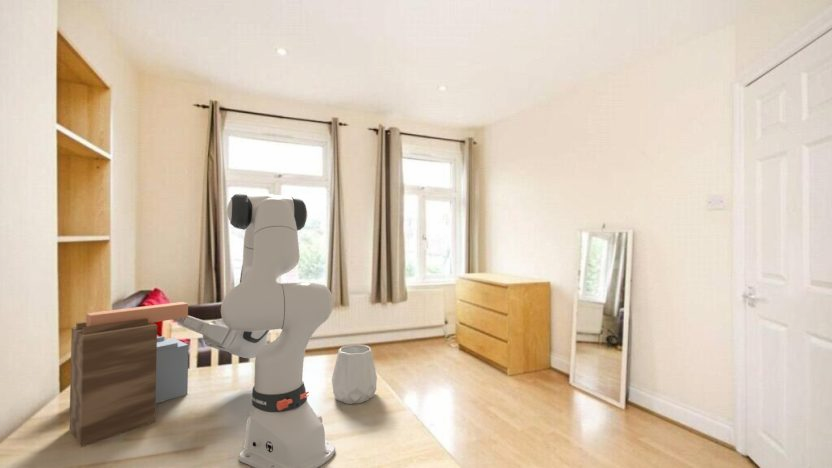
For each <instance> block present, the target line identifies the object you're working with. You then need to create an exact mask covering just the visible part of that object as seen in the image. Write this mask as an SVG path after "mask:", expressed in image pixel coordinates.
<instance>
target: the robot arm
mask: <svg viewBox="0 0 832 468" xmlns="http://www.w3.org/2000/svg"><path fill="white" fill-rule="evenodd" d="M226 215H227V218H228V220H229V222H230V225H231V226H233V228H236V229H239V230H245V231H244V238H243V249H242V264H241V270H240V271H241V272H240V278H239V284H237V285H236V286H233V288H231V289H230V290H229V291H228V292H227V293H226V295H224V298H223V299H222V301H221V305H220V306H221V307H220V315H221V318H218V319H216V320H215V319H214V320H212V321H210V322H208V321H206V320H203V319H200V318H198V317H197V318H196V317H194V316H193V315H192V316H191V315H189V314H188V317H186V318H179V319H172V320H173V321H175V322H177V326H179V327H182V328H184V329H187V330H190V331H193V332H195V333H197V334H199V335H202V340H203V341H204V344H205V346H206V347H211V348H212V349H216V350H218V351H222V352H223V351H224V352H228V353H230V354H231V355H234V356H237V357H241V358H245V359H254V381H253V382H254V385H253V387H252V391H251V405H252V408H251V411H250V414H249V416H248V417H247V420H246V427H245V435H244V443H243V449H242V450H241V452H240V453H239V454H238V461H239V462H241V463H243V464H246V465H249V466H250V467H253V468H319V467H321V466H322V465H324V464H325V463H327V462H328V461H329V460H330V459H332V457H333V456H334V455H335V452H336V446H335V445H334V444H332V442H330V440H328V439H327V438H326V436H325V435H326V433H325V427H324V424H323V416H321V414H320V415H319V414H318V415H317V414H316V412H315V411H314V410H313V408H312V407H311V405H310V404H309V402H308V401H307V400H308V397H309V396H310V395H308V394H310V392H309V391H306V385H305V383H304V381H303V372H304V361H305V360H304V359H305V353H306V350H307V347H308V344H309V342H310V340H311V339H312V336H313V335H314V334H315V332H316V331H317V330H318V329H319V327H321V326H322V325H323V324H324V323H325V322H326V321H327V320H329V318H330V316H331V315H332V313H333V309H334V304H335V303H334V297H333V294H332V292H331V291H330V289H329V288H328V286H326V285H324V284H321V283H313V282H289V283H288V282H287V283H285V282H284V283H279V282H278V281H277V279H278V278H279V277H281V276H284V275H285V274H288V273H289V272H291V271H292V270H293V269H295V268H296V266H297V265H298V263H299V261H300V249H299V246H300V245H299V235H298V231H301V230H302V229H303V228H304V227H305V226H306V222H307V219H308V210H307V206H306V203H305V202H304V200H302V199H301V198H298V197H294V196H292V197H288V196H282V195H278V194H277V195H276V194H275V195H274V194H269V193H247V192H242V193H235V194H234V195H232V197H230V200H229V202H228V205H227V207H226ZM172 320H171V321H172ZM273 330H274V331H275V330H281V332H280V334H279V336H278V337H276V339H275V340H273V341H271V342H269V343H268V341H267V340H268V335H269V333H270V331H273ZM333 454H334V455H333Z"/></svg>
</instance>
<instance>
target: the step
mask: <svg viewBox="0 0 832 468" xmlns="http://www.w3.org/2000/svg"><path fill="white" fill-rule="evenodd" d="M189 347H190V346H189V344H187V343H186V342H183V341H181V340H179V339H177V338H175V337H170V338H166V337H165V336H164V335H163V336H162V335H161V336H157V357H156V401H155V405H156V404H159V403H162V402H165V401H169V400H173V399H175V398H179V397H183V396H186V395H188V389H189V386H188V385H189V382H188V379H189Z"/></svg>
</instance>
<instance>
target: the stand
mask: <svg viewBox="0 0 832 468" xmlns="http://www.w3.org/2000/svg"><path fill="white" fill-rule="evenodd" d="M75 325H76V326H75V327H71V342H70V343H71V346H70V347H71V348H70V349H71V350H70V381H69V383H70V386H69V387H70V388H69V389H70V390H69V391H70V393H69V426H68V428H69V429H68V430H69V431H70V433H71V434H72V436H73V438H74V439H75V440H76V441H77V443H78V444H79V446H80V447H84V446H87V445H89V444H93V443H96V442H98V441H101V440H105V439H108V438H111V437H114V436H118V435H120V434H123V433H125V432H129V431H132V430H135V429H138V428H141V427H143V426H144V427H145V426H147V425H151V424H152V423H153V424H154V423H155V422H156V404H155V401H156V357H157V337H158V325H157V324H156V323H155V322H152V323H148V319H147V318H145V319H138V320H130V321H123V322H116V323H109V324H102V325H95V326H88V327H86V321H82V322H76V323H75Z"/></svg>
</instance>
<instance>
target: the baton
mask: <svg viewBox="0 0 832 468" xmlns="http://www.w3.org/2000/svg"><path fill="white" fill-rule="evenodd" d="M85 315H86V316H85V318H86V319H85V322H86V327H88V326H95V325H102V324H109V323H116V322H123V321H130V320H138V319H145V318H147V319H148V323H159V322H164V321H170V320H171V321H172V319H179V318H186V317H188V315H189V303H188V302H186V301H185V302H184V301H178V302H170V303H161V304H154V305H146V306H145V305H144V306H136V307H128V308H120V309H119V308H118V309H110V310H103V311H101V310H100V311H94V312H93V311H92V312H86V314H85Z"/></svg>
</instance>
